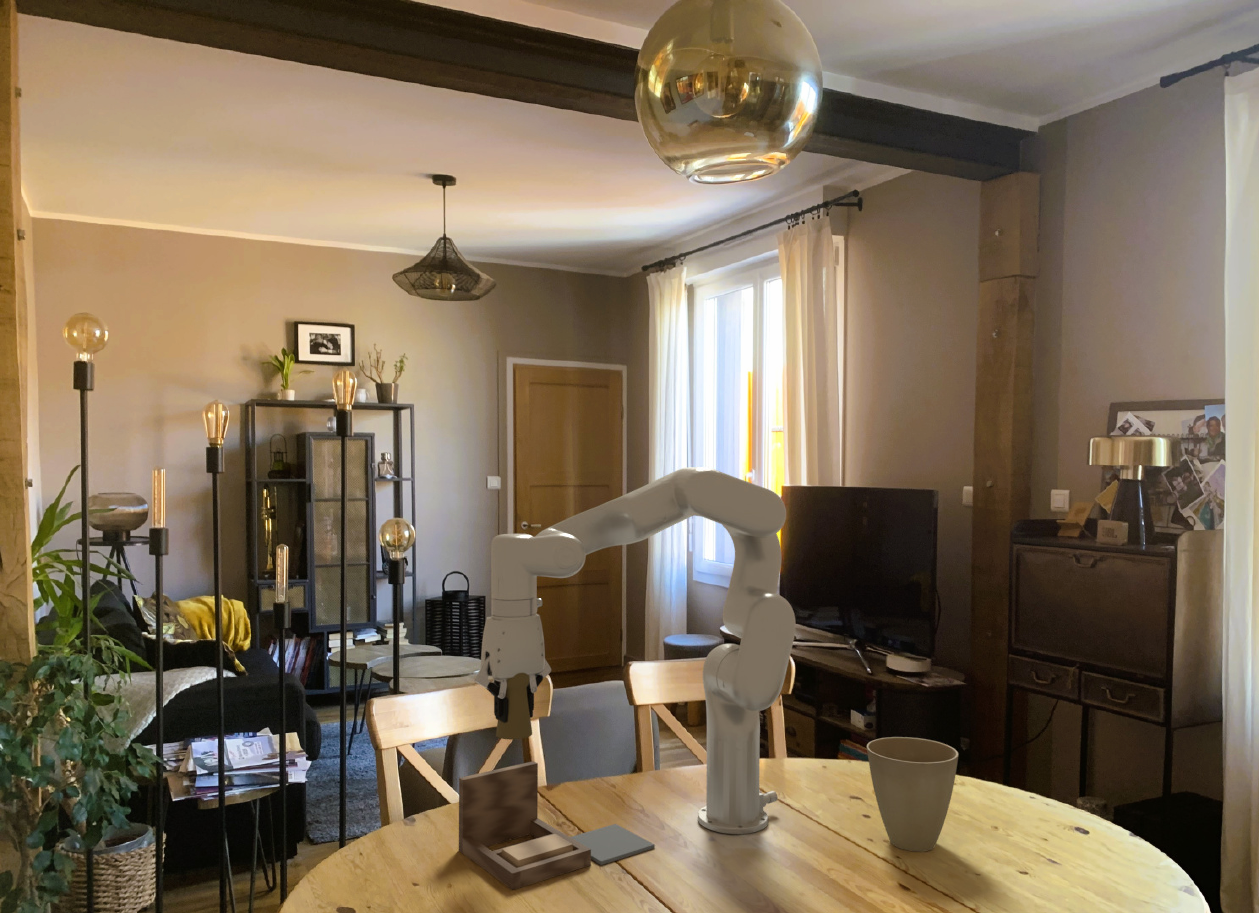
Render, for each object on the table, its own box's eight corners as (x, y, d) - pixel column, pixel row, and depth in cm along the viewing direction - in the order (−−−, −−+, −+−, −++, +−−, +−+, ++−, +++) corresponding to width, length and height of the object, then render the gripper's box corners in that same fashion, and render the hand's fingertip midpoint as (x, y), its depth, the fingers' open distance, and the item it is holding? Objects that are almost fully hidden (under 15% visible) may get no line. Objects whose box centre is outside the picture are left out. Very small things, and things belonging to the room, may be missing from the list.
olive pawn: (535, 729, 154) (535, 664, 154) (528, 740, 148) (528, 672, 148) (500, 728, 155) (500, 663, 155) (491, 739, 149) (491, 671, 149)
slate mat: (615, 827, 161) (615, 823, 161) (654, 848, 152) (654, 844, 152) (563, 842, 154) (563, 839, 154) (601, 865, 146) (601, 861, 146)
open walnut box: (533, 829, 160) (533, 761, 160) (590, 865, 146) (591, 790, 146) (458, 850, 151) (459, 777, 151) (512, 890, 137) (512, 810, 137)
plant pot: (972, 842, 155) (972, 748, 155) (934, 870, 144) (934, 769, 144) (891, 819, 165) (891, 731, 166) (850, 843, 154) (850, 749, 155)
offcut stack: (555, 855, 150) (555, 833, 150) (572, 866, 146) (572, 844, 146) (501, 871, 144) (501, 849, 144) (518, 883, 140) (518, 860, 140)
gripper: (544, 601, 160) (545, 705, 160) (458, 610, 150) (458, 722, 149) (568, 606, 154) (568, 714, 154) (479, 616, 144) (479, 732, 143)
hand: (514, 717), depth 151 cm, fingers closed on olive pawn, 4 cm apart
